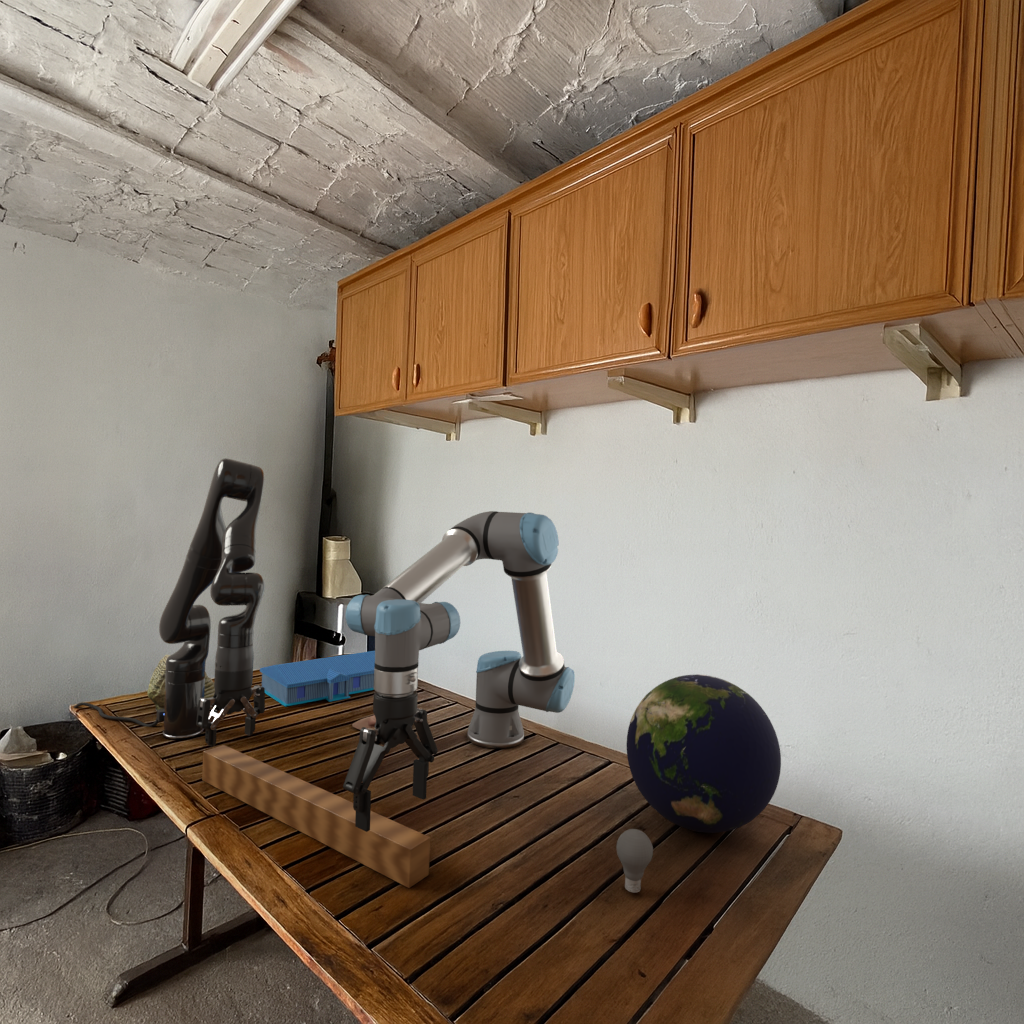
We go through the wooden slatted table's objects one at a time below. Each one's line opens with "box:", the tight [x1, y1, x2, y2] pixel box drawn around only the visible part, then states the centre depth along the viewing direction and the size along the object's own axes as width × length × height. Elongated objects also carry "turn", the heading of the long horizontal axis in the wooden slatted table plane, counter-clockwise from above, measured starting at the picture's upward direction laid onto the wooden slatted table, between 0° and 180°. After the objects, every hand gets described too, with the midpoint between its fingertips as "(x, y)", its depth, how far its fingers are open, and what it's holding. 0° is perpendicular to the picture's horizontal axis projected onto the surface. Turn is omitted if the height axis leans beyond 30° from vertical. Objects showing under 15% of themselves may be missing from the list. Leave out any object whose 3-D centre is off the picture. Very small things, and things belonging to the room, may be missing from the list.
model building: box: [259, 650, 375, 707], centre depth 208 cm, size 39×24×10 cm, turn 132°
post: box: [201, 744, 431, 889], centre depth 123 cm, size 62×5×6 cm, turn 56°
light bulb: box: [615, 828, 654, 894], centre depth 106 cm, size 6×6×10 cm
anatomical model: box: [351, 714, 376, 731], centre depth 176 cm, size 13×4×12 cm
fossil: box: [147, 654, 215, 711], centre depth 185 cm, size 9×18×15 cm, turn 132°
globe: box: [626, 673, 782, 834], centre depth 129 cm, size 30×30×30 cm
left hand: (230, 739), depth 136 cm, fingers open, 8 cm apart
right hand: (392, 811), depth 110 cm, fingers open, 13 cm apart
